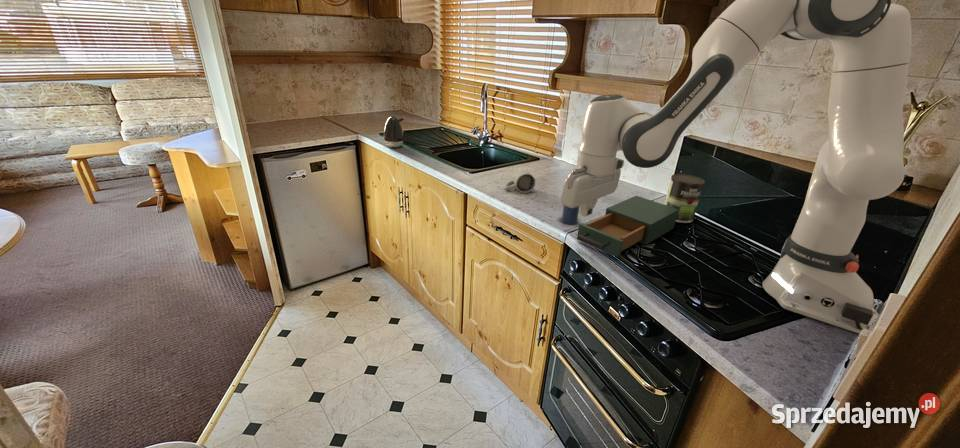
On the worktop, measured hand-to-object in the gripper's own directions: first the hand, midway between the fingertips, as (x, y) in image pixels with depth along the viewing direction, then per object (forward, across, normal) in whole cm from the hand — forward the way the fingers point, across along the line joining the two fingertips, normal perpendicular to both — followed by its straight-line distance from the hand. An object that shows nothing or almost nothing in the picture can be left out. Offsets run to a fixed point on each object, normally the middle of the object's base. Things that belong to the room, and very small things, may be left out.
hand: (585, 214), depth 105 cm
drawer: (+12, +15, 0) cm, 19 cm away
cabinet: (+13, +33, 0) cm, 36 cm away
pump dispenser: (+15, +21, +129) cm, 131 cm away
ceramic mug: (+14, +27, +47) cm, 56 cm away
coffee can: (+14, +53, -4) cm, 55 cm away
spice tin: (+14, +19, +17) cm, 29 cm away
